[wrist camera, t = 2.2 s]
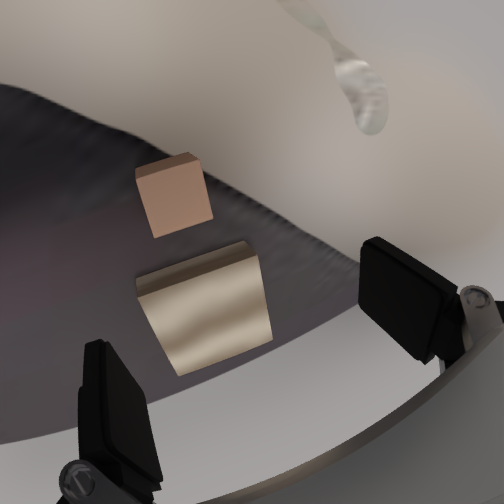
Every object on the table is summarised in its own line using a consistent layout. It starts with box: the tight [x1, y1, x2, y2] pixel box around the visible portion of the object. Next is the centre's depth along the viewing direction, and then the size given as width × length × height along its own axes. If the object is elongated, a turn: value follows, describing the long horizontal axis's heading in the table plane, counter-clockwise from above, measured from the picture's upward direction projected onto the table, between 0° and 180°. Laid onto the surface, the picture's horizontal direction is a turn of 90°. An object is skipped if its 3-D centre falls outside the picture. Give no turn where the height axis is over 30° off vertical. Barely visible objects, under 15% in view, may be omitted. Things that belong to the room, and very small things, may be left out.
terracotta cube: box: [135, 152, 213, 238], centre depth 24 cm, size 5×5×5 cm
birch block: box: [136, 241, 273, 376], centre depth 32 cm, size 12×12×4 cm
